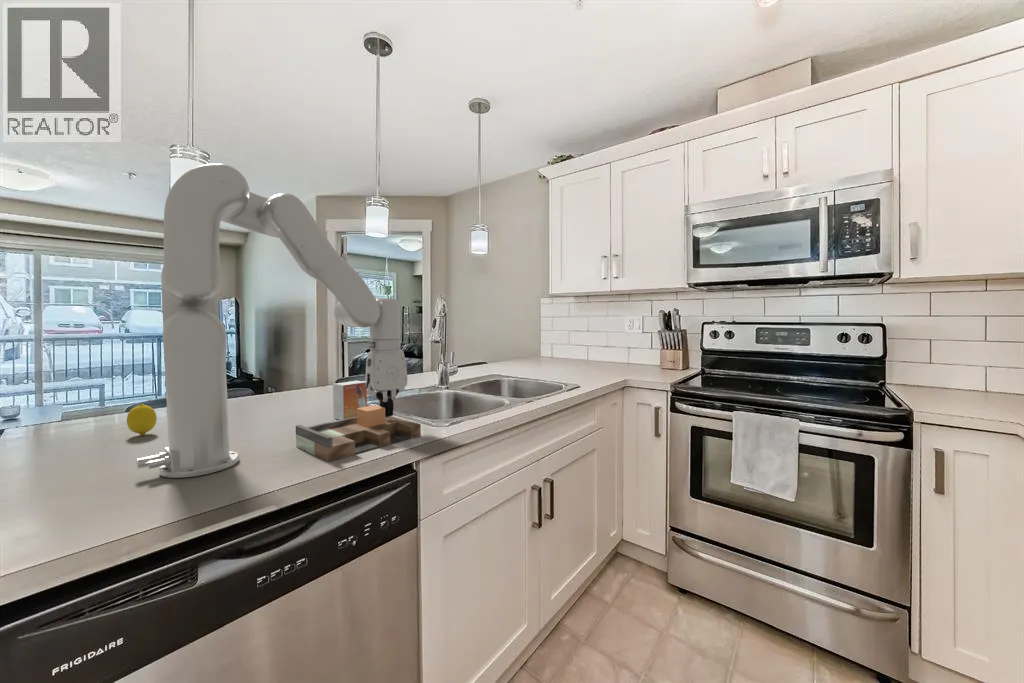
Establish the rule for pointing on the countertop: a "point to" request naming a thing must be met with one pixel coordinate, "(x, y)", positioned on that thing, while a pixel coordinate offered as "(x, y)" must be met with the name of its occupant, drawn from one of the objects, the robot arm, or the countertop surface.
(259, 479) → the countertop surface
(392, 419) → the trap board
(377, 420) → the block
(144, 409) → the lemon
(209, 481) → the countertop surface
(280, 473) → the countertop surface
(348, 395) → the small box
